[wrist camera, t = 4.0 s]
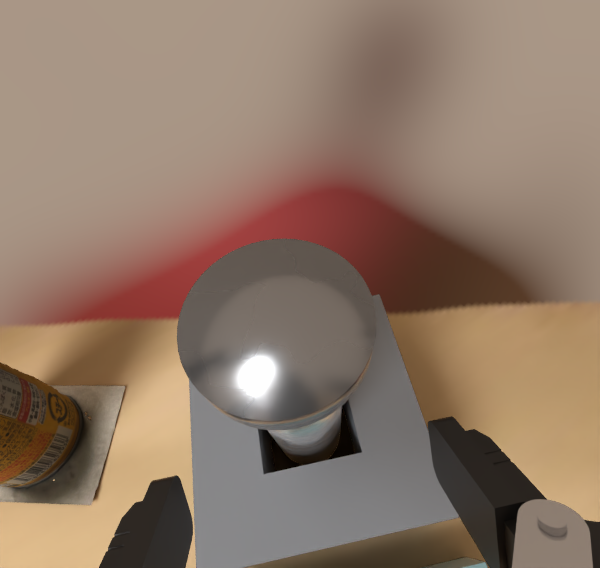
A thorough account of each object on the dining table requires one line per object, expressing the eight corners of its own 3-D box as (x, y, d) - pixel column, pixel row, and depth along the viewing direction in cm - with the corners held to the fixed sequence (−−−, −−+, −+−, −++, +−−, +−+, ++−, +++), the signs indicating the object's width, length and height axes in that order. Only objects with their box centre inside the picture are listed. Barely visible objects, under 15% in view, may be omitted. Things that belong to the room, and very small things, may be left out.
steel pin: (272, 489, 23) (178, 443, 9) (260, 397, 26) (175, 258, 12) (363, 469, 23) (405, 393, 9) (340, 380, 26) (347, 223, 12)
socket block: (224, 566, 21) (196, 578, 17) (210, 363, 27) (187, 334, 23) (434, 518, 21) (458, 517, 17) (372, 328, 28) (379, 294, 24)
